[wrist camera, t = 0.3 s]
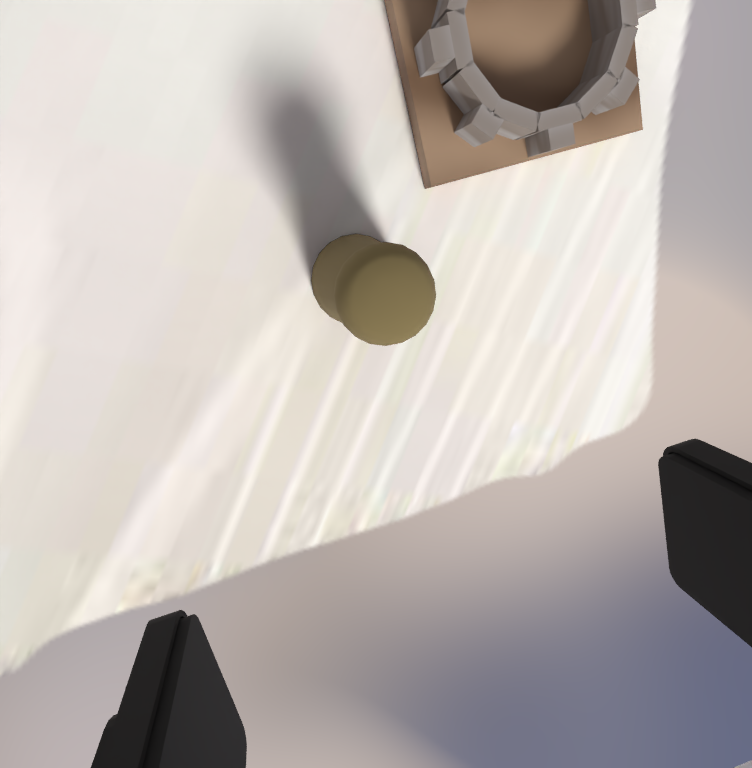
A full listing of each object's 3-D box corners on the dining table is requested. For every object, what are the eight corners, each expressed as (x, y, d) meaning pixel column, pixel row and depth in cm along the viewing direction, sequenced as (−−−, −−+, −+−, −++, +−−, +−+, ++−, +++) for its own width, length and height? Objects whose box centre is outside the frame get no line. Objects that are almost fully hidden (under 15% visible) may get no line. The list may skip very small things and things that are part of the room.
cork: (300, 310, 36) (313, 340, 26) (326, 220, 35) (352, 214, 24) (383, 335, 38) (428, 373, 27) (411, 250, 36) (469, 257, 26)
